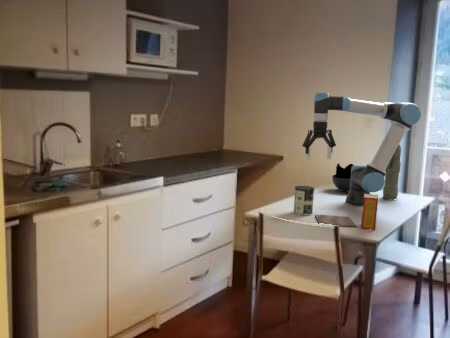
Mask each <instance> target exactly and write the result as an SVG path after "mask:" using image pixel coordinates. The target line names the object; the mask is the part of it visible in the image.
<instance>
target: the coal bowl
mask: <svg viewBox="0 0 450 338" xmlns="http://www.w3.org/2000/svg"><path fill="white" fill-rule="evenodd" d="M352 166H355V165H354V164H353V163H349V164H348V165H346V166H345V167H342V166H341V164H340V163H337V164H336V166H335V174H333V175H332V176H331V178H332V183H333V184H334V186H335V188H337V189H338V190H339V191H340V192H341V191H342V192H343V193H349V190H350V179H351V169H352Z"/></svg>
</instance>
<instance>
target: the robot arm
mask: <svg viewBox="0 0 450 338" xmlns="http://www.w3.org/2000/svg"><path fill="white" fill-rule="evenodd" d="M313 103H314V105H313V122H312V123H313V126H312V127H313V130H312V129H308V132H307V134H306V137H305V138H304V141H303V143H302V145H301V146H302V148H303V147H304V148H305V152H304V153H305V155H306V157H305V159H306V160H307V161H311V149H312V148H311V146H312V144H314V142H315V141H316V140H317V139H323V140H324V141H325V143H326V144H327V151H326V152H327V153H326V154H327V155H326V159H328V160H332V153H333V148H334V147H336V145H337V144H336V141H335V138H334V136H333V133H332V132H333V131H332V129H329V128H328V122H327V121H328V116H329V114H328V113H329V111H340V112H345V113H346V112H347V113H353V114H360V115H366V116H367V115H368V116H375V117H379V118H380V119H382V120H388V121H390V127H389V129H388V130H387V133H386V134H385V136H384V137H383V139H382V141H381V143H380V145H379V147H378V149H377V151H376V153H375V155H374V157H372V160H371V162H370V163H367V164H366V165H354V166H352V169H351V179H350V190H349V192H347V196H346V198H345V203H346V204H348V205H350V206H356V207H363V201H364V194H371V193H377V192H379V191H381V190H382V189H383V188H384V186H385V177H386V171H385V169H386V167H387V165H388V164H389V162H390V160H391V158H392V156H393V154H394V152H395V151H396V149H397V147H398V145H400V143H401V141H402V140H403V137H404V135H405V134H406V133H407V132H409V131H410V130H411V128H412V127H413V125H415V124H418V122H419V121H420V119H421V117H422V112H421V109H420V107H419V106H418V104H416V103H412V102H401V101H399V102H388V101H387V102H386V101H384V102H382V103H381V102H374V101H369V100H368V101H367V100H361V99H354V98H350V97H349V96H344V95H343V96H338V95H337V96H336V95H335V96H334V95H333V96H332V95H330V94H329V92H316V93H315V94H314V102H313Z"/></svg>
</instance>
